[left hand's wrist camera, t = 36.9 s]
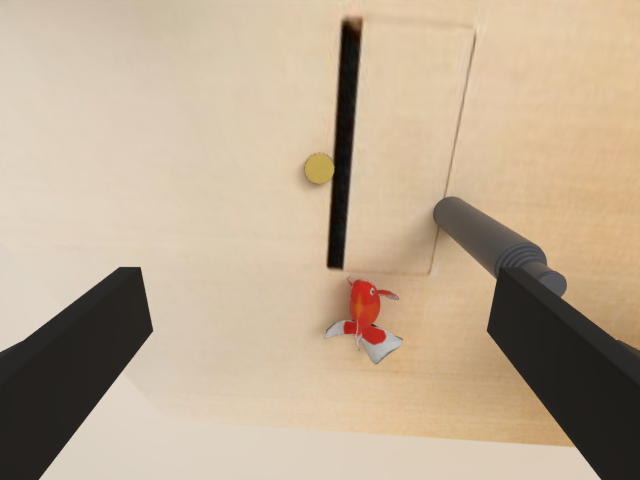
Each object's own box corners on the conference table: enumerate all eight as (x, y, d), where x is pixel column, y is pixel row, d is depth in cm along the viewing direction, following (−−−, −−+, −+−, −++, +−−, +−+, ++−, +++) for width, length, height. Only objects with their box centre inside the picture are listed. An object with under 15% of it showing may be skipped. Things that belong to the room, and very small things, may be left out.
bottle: (468, 222, 48) (582, 305, 27) (436, 231, 49) (524, 320, 28) (463, 192, 47) (578, 255, 26) (430, 202, 47) (517, 272, 26)
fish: (430, 279, 46) (414, 340, 39) (398, 337, 57) (381, 392, 50) (355, 250, 48) (328, 303, 41) (338, 311, 59) (315, 361, 53)
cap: (332, 150, 45) (333, 152, 43) (334, 179, 46) (335, 182, 44) (303, 153, 45) (303, 155, 43) (307, 182, 46) (306, 185, 44)
